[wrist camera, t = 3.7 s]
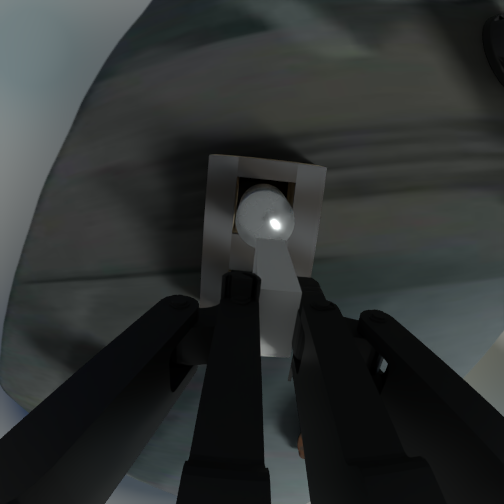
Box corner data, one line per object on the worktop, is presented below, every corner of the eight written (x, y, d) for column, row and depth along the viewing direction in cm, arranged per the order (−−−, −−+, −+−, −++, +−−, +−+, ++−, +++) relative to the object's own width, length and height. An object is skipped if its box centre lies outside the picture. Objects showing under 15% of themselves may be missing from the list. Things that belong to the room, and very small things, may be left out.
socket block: (217, 154, 38) (209, 154, 32) (314, 164, 39) (326, 167, 32) (206, 303, 44) (199, 329, 38) (293, 311, 45) (299, 338, 38)
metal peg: (241, 181, 33) (238, 188, 27) (289, 186, 33) (298, 195, 27) (237, 227, 35) (233, 246, 28) (283, 232, 35) (290, 252, 28)
